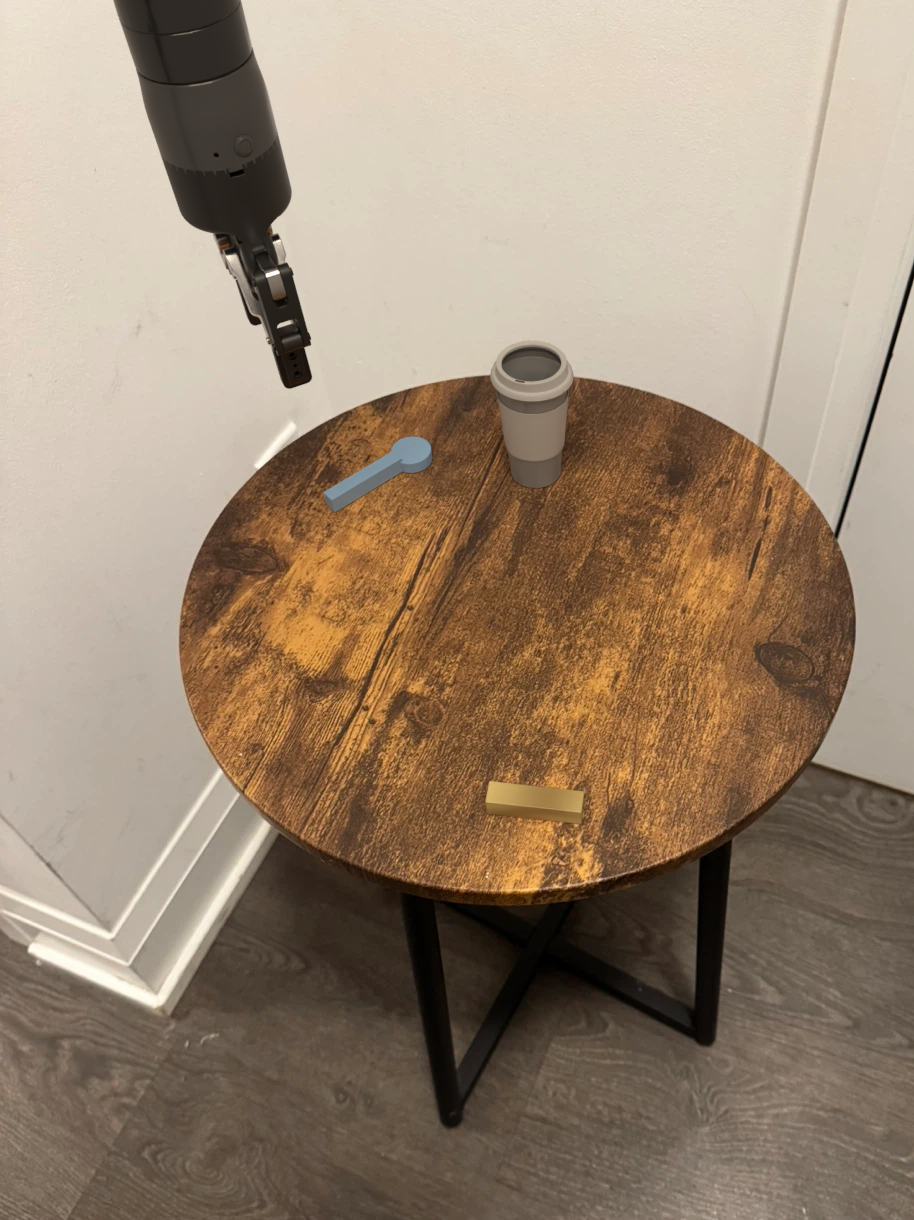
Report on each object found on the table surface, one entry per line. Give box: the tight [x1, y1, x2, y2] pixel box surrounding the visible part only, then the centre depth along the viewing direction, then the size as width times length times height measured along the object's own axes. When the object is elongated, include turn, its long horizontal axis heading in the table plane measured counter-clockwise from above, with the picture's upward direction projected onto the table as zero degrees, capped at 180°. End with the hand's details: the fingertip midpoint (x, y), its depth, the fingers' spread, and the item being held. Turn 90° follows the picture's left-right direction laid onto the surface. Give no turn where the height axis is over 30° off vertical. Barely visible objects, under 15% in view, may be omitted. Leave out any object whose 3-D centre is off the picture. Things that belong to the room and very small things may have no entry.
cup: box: [489, 340, 575, 489], centre depth 92 cm, size 7×7×12 cm
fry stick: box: [484, 780, 585, 825], centre depth 76 cm, size 7×2×2 cm, turn 82°
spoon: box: [322, 436, 433, 513], centre depth 96 cm, size 11×4×2 cm, turn 132°
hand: (280, 351), depth 79 cm, fingers open, 8 cm apart
